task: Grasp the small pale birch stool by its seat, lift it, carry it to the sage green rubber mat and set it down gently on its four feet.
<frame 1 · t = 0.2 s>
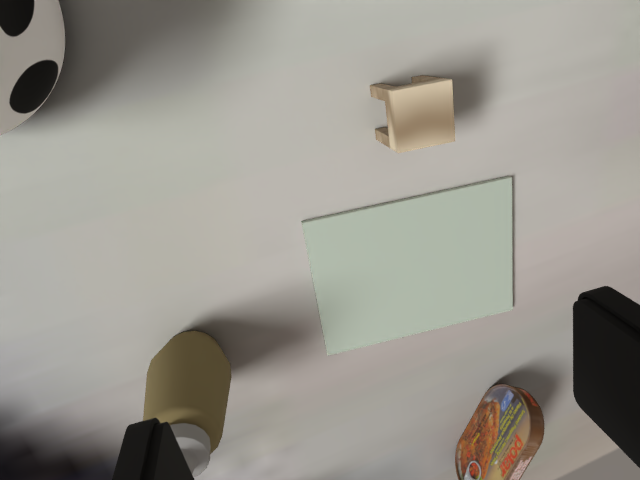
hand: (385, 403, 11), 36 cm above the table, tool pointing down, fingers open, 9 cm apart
mat: (414, 267, 51), on the table
stool: (398, 107, 45), on the table
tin: (480, 418, 62), on the table
squeeze bottle: (192, 352, 51), on the table
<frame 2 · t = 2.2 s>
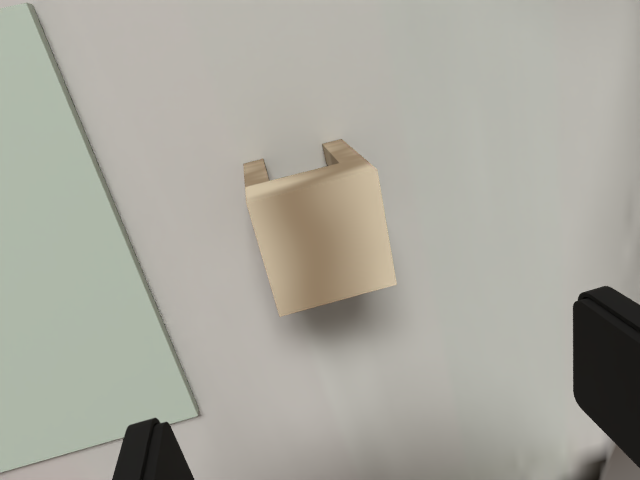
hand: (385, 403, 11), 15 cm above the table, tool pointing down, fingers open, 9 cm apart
stool: (304, 198, 25), on the table
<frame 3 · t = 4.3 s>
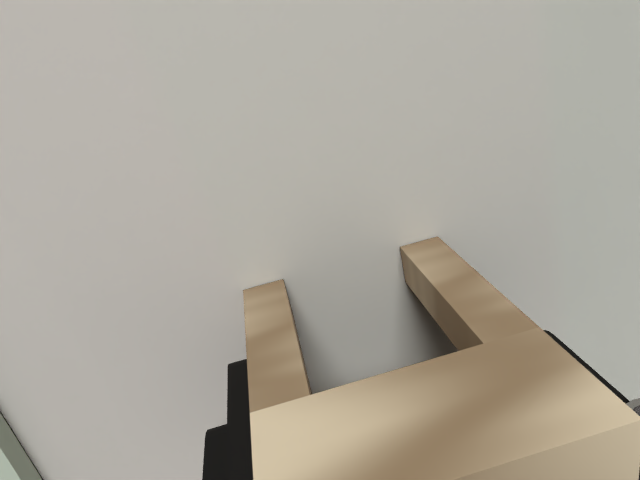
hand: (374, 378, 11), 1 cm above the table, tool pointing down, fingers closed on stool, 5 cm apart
stool: (360, 344, 13), on the table, touching gripper
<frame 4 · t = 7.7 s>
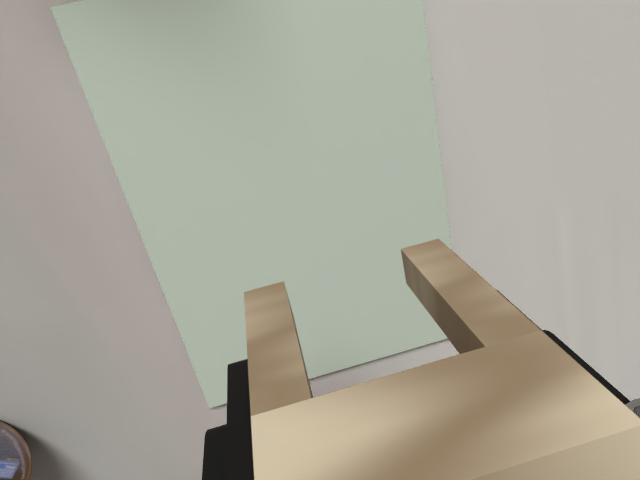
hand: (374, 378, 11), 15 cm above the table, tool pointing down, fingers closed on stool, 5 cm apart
mat: (295, 200, 25), on the table
stool: (360, 346, 13), point 14 cm above the table, touching gripper
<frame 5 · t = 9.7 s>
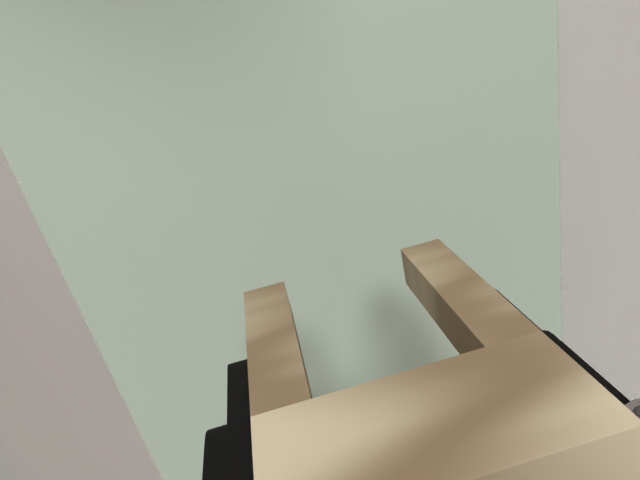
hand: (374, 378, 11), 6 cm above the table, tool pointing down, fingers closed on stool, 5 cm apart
mat: (334, 276, 16), on the table
stool: (360, 347, 13), point 4 cm above the table, touching gripper
when the fingers open (3 cm above the table, at t = 11.2 s): stool stays where it is, resting on mat.
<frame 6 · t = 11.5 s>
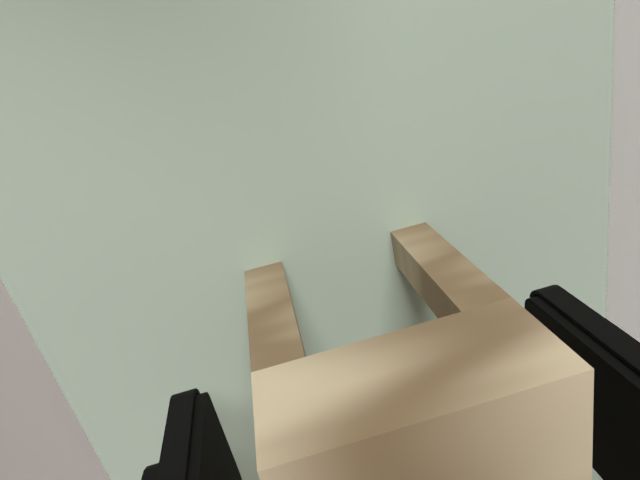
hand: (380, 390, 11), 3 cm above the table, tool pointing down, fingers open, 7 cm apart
mat: (346, 315, 14), on the table
stool: (353, 324, 14), point 1 cm above the table, touching mat
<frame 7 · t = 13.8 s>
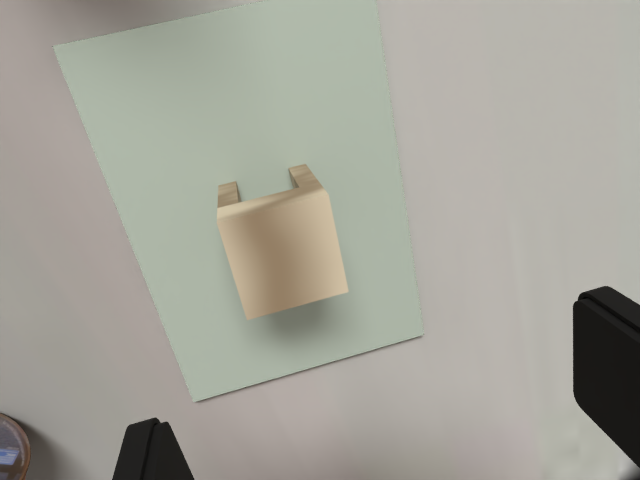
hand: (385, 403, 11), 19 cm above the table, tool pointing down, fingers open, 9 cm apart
mat: (271, 213, 28), on the table
stool: (272, 215, 28), point 1 cm above the table, touching mat
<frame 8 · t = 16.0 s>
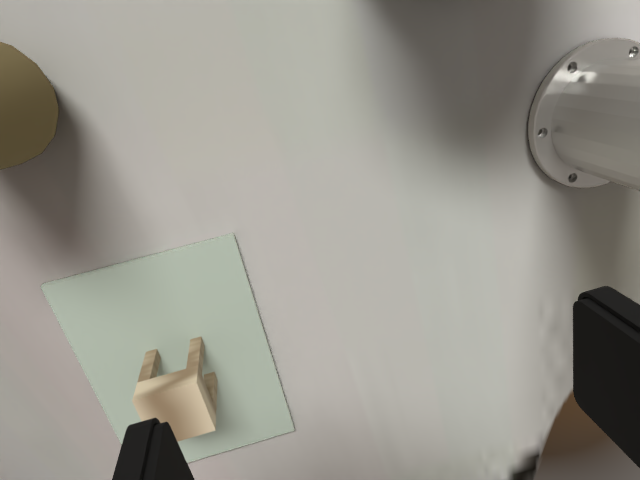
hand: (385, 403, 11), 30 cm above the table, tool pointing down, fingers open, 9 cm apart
mat: (182, 362, 44), on the table
stool: (182, 366, 43), point 1 cm above the table, touching mat
squeeze bottle: (15, 98, 34), on the table
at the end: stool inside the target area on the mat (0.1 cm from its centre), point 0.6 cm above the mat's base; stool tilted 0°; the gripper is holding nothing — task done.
